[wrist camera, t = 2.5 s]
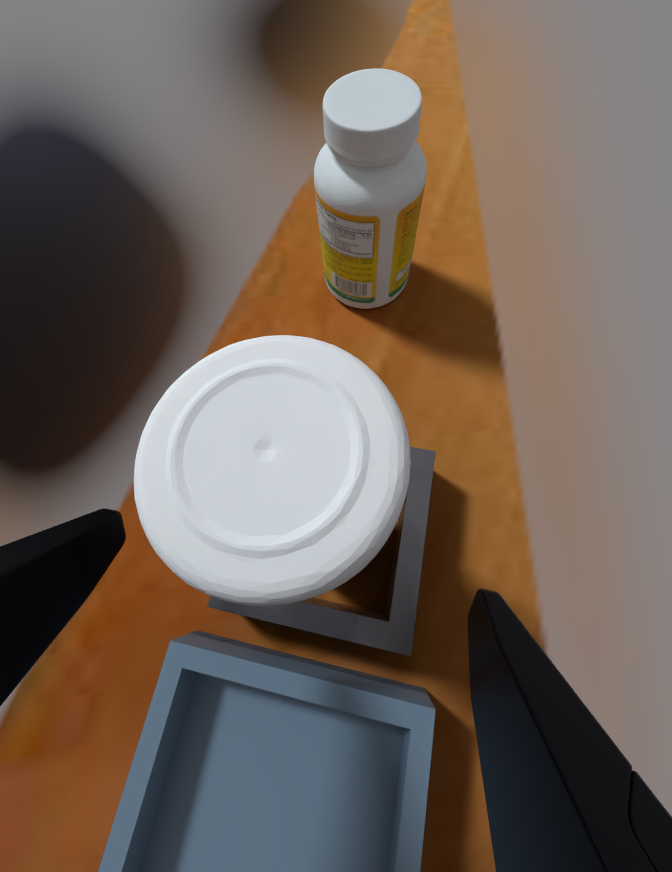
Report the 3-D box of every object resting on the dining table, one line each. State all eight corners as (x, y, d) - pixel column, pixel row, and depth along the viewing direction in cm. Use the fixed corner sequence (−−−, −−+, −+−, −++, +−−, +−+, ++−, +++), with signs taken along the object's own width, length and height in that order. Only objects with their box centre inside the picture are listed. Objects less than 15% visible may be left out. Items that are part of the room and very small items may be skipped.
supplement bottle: (339, 321, 22) (325, 157, 13) (315, 259, 24) (288, 77, 15) (421, 297, 23) (461, 119, 14) (391, 237, 25) (409, 45, 16)
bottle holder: (403, 643, 16) (411, 656, 14) (228, 601, 17) (207, 606, 15) (426, 465, 19) (435, 451, 17) (273, 438, 20) (261, 421, 18)
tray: (386, 1047, 12) (392, 1160, 10) (105, 940, 14) (52, 1017, 11) (424, 688, 16) (435, 709, 13) (196, 630, 17) (170, 640, 15)
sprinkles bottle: (347, 469, 19) (321, 283, 7) (395, 547, 18) (480, 497, 5) (271, 514, 19) (83, 405, 6) (314, 598, 17) (185, 685, 5)
